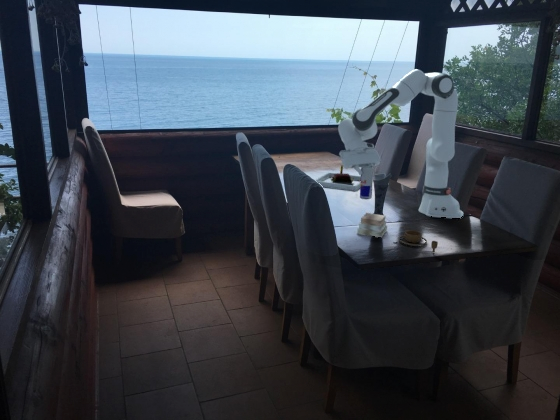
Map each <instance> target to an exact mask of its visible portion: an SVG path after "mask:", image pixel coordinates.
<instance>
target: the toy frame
mask: <svg viewBox="0 0 560 420" xmlns="http://www.w3.org/2000/svg"><path fill="white" fill-rule="evenodd" d="M334 174H335V172H329V171H328V172H326V173H325V174H323V175H321V176H320V177H318V178H316V179H315V180H316V181H317V182H318V183H320V184H321V185H322V186H323V187H322V188H329V189H336V188H337V190H345V191H351V192H352V191H353V192H357V191H358V190H360V180H361V175H351V174H349V175H350V177H351V179H353V180H354V181H355V182H356V181H357V182H358V183H357V184H356V185H354V184H353V185H345V184H337V183H333V182H330V181H329V182H327V181H325V180H327V179H328V178H329V179H330V178H331V177H332V178H333V177H334ZM332 178H331V179H332ZM323 180H324V181H323Z"/></svg>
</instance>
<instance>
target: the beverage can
mask: <svg viewBox="0 0 560 420" xmlns="http://www.w3.org/2000/svg"><path fill="white" fill-rule="evenodd" d="M360 169H361V170H363V172H364V174H363V175H360V176H361V180H360V181H359V182H360V188H359V198H360V199H362V200H367V201H368V200H370V199H371V200H372V198H373V180H374V179H373V177H374V173H373V169H374V168H373V167H369V166H368V167H360Z"/></svg>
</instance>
